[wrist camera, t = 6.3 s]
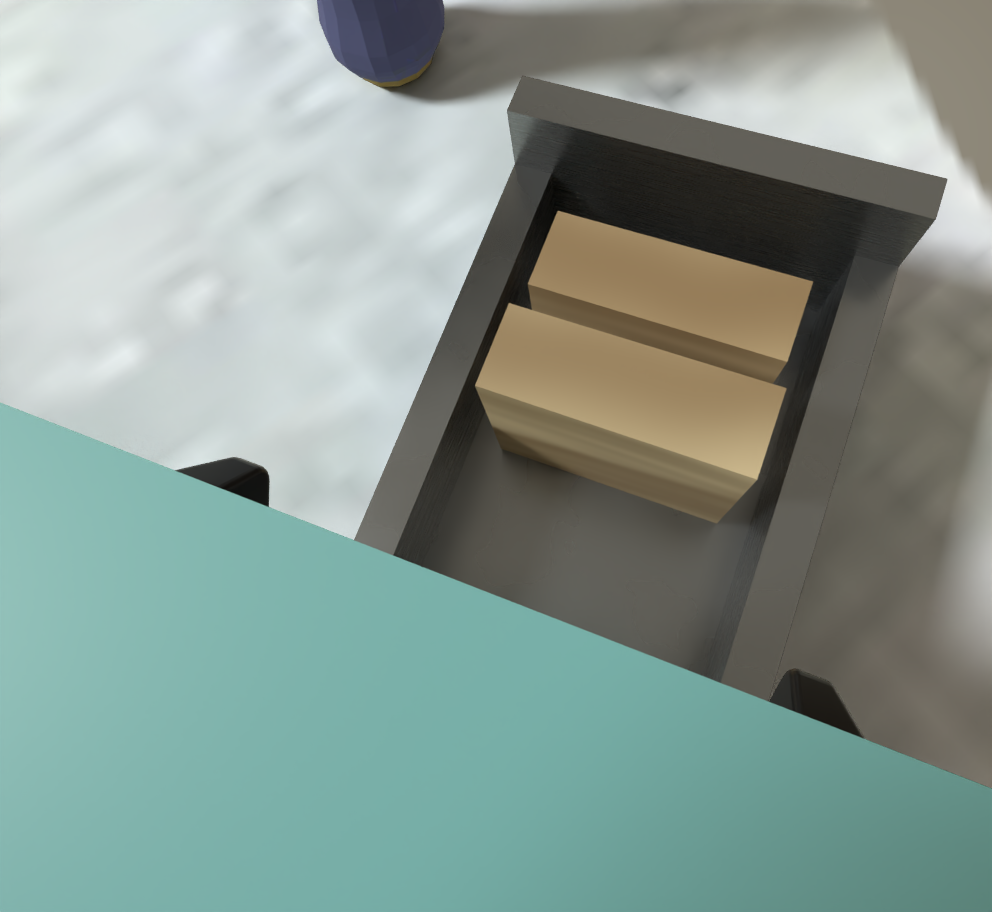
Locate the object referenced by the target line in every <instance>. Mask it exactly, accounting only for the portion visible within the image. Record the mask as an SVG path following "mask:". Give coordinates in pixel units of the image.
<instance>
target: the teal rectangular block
mask: <svg viewBox="0 0 992 912" xmlns="http://www.w3.org/2000/svg"><path fill="white" fill-rule="evenodd" d="M0 912H992V788H989V787H987V786H984V785H981V784H979V783H976V782H974V781H971V780H969V779H966V778H963V777H961V776H958V775H956V774H953V773H951V772H948V771H945V770H943V769H940V768H938V767H935V766H933V765H930V764H927V763H925V762H922V761H920V760H917V759H915V758H912V757H910V756H907V755H904V754H902V753H899V752H897V751H894V750H892V749H889V748H886V747H884V746H881V745H879V744H876V743H874V742H871V741H868V740H866V739H863V738H861V737H858V736H856V735H853V734H850V733H848V732H845V731H843V730H840V729H838V728H835V727H832V726H830V725H827V724H825V723H822V722H820V721H817V720H814V719H812V718H809V717H807V716H804V715H802V714H799V713H796V712H794V711H791V710H789V709H786V708H784V707H781V706H778V705H776V704H773V703H771V702H768V701H766V700H763V699H760V698H758V697H755V696H753V695H750V694H748V693H745V692H742V691H740V690H737V689H735V688H732V687H730V686H727V685H724V684H722V683H719V682H717V681H714V680H712V679H709V678H707V677H704V676H701V675H699V674H696V673H694V672H691V671H689V670H686V669H683V668H681V667H678V666H676V665H673V664H671V663H668V662H665V661H663V660H660V659H658V658H655V657H653V656H650V655H647V654H645V653H642V652H640V651H637V650H635V649H632V648H629V647H627V646H624V645H622V644H619V643H617V642H614V641H611V640H609V639H606V638H604V637H601V636H599V635H596V634H593V633H591V632H588V631H586V630H583V629H581V628H578V627H575V626H573V625H570V624H568V623H565V622H563V621H560V620H557V619H555V618H552V617H550V616H547V615H545V614H542V613H540V612H537V611H534V610H532V609H529V608H527V607H524V606H522V605H519V604H516V603H514V602H511V601H509V600H506V599H504V598H501V597H498V596H496V595H493V594H491V593H488V592H486V591H483V590H480V589H478V588H475V587H473V586H470V585H468V584H465V583H462V582H460V581H457V580H455V579H452V578H450V577H447V576H444V575H442V574H439V573H437V572H434V571H432V570H429V569H426V568H424V567H421V566H419V565H416V564H414V563H411V562H408V561H406V560H403V559H401V558H398V557H396V556H393V555H390V554H388V553H385V552H383V551H380V550H378V549H375V548H372V547H370V546H367V545H365V544H362V543H360V542H357V541H355V540H352V539H349V538H347V537H344V536H342V535H339V534H337V533H334V532H331V531H329V530H326V529H324V528H321V527H319V526H316V525H313V524H311V523H308V522H306V521H303V520H301V519H298V518H295V517H293V516H290V515H288V514H285V513H283V512H280V511H277V510H275V509H272V508H270V507H267V506H265V505H262V504H259V503H257V502H254V501H252V500H249V499H247V498H244V497H241V496H239V495H236V494H234V493H231V492H229V491H226V490H223V489H221V488H218V487H216V486H213V485H211V484H208V483H205V482H203V481H200V480H198V479H195V478H193V477H190V476H187V475H185V474H182V473H180V472H177V471H175V470H172V469H170V468H167V467H164V466H162V465H159V464H157V463H154V462H152V461H149V460H146V459H144V458H141V457H139V456H136V455H134V454H131V453H128V452H126V451H123V450H121V449H118V448H116V447H113V446H110V445H108V444H105V443H103V442H100V441H98V440H95V439H92V438H90V437H87V436H85V435H82V434H80V433H77V432H74V431H72V430H69V429H67V428H64V427H62V426H59V425H56V424H54V423H51V422H49V421H46V420H44V419H41V418H38V417H36V416H33V415H31V414H28V413H26V412H23V411H20V410H18V409H15V408H13V407H10V406H8V405H5V404H2V403H0Z"/></svg>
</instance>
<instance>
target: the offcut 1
mask: <svg viewBox="0 0 992 912" xmlns="http://www.w3.org/2000/svg"><path fill="white" fill-rule="evenodd" d="M812 284H813V281H809V280H806V279H802V278H798V277H795V276H791V275H788V274H784V273H780V272H777V271H773V270H770V269H766V268H762V267H759V266H755V265H752V264H748V263H744V262H741V261H737V260H734V259H730V258H726V257H723V256H719V255H716V254H712V253H708V252H705V251H701V250H698V249H694V248H690V247H687V246H683V245H680V244H676V243H672V242H669V241H665V240H662V239H658V238H654V237H651V236H647V235H644V234H640V233H636V232H633V231H629V230H625V229H622V228H618V227H615V226H611V225H607V224H604V223H600V222H597V221H593V220H589V219H586V218H582V217H579V216H575V215H571V214H568V213H564V212H561V211H557V214H556V216H555V219H554V221H553V224H552V226H551V229H550V231H549V233H548V236H547V238H546V241H545V243H544V246H543V248H542V251H541V253H540V255H539V258H538V260H537V263H536V265H535V268H534V270H533V273H532V275H531V277H530V280H529V282H528V288H529V294H530V300H531V306H532V310H533V311H537V312H540V313H543V314H546V315H550V316H553V317H556V318H559V319H563V320H566V321H569V322H572V323H576V324H579V325H582V326H585V327H589V328H592V329H595V330H598V331H602V332H605V333H608V334H612V335H615V336H618V337H621V338H625V339H628V340H631V341H634V342H638V343H641V344H644V345H647V346H651V347H654V348H657V349H660V350H664V351H667V352H670V353H673V354H677V355H680V356H683V357H686V358H690V359H693V360H696V361H699V362H703V363H706V364H709V365H713V366H716V367H719V368H722V369H726V370H729V371H732V372H735V373H739V374H742V375H745V376H748V377H752V378H755V379H758V380H761V381H765V382H768V383H771V384H773V383H774V381H775V380H776V378H777V377H778V375H779V374H780V372H781V371H782V369H783V368H784V366H785V365H786V363H787V361H788V358H789V355H790V352H791V349H792V346H793V343H794V340H795V337H796V334H797V330H798V327H799V324H800V321H801V318H802V315H803V312H804V309H805V306H806V303H807V300H808V296H809V293H810V290H811V287H812Z"/></svg>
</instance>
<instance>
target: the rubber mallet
mask: <svg viewBox="0 0 992 912" xmlns="http://www.w3.org/2000/svg"><path fill="white" fill-rule="evenodd" d="M317 4H318V12H319V21H320V24H321V26H322V29H323V31H324V34H325V37H326V39H327V41H328V43H329V45H330V48H331V50H332V52H333V54H334V56H335V58H336V59H337V61H339V62H340V63H341V64H342V65H344V66H345V67H346V68H347V69H349V70H350V71H352V72H353V73H355V74H356V75H358V76H359V77H361V78H363V79H364V80H366V81H368V82H370V83H373V84H375V85H377V86H379V87H388V86H401V85H403V84H405V83H408V82H410V81H412V80H414V79H417V78H418V77H419V76H420V75H421V74H422V73H423V72H424V71H425V70H426V68H427V67H428V66H429V65H430V64H431V62H432V58H433V54H434V52H435V50H436V48H437V46H438V43H439V41H440V38H441V35H442V32H443V30H444V5H443V1H442V0H317Z"/></svg>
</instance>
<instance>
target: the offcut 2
mask: <svg viewBox="0 0 992 912" xmlns="http://www.w3.org/2000/svg"><path fill="white" fill-rule="evenodd" d="M475 387H476V389H477V392H478V394H479V397H480V399H481V401H482V404H483V406H484V409H485V411H486V413H487V416H488V418H489V421H490V423H491V425H492V428H493V430H494V433H495V435H496V437H497V440H498V442H499V445H500V447H501V449H504V450H507V451H510V452H512V453H515V454H518V455H521V456H524V457H527V458H530V459H533V460H535V461H538V462H541V463H544V464H547V465H550V466H553V467H556V468H558V469H561V470H564V471H567V472H570V473H573V474H576V475H579V476H581V477H584V478H587V479H590V480H593V481H596V482H599V483H602V484H604V485H607V486H610V487H613V488H616V489H619V490H622V491H624V492H627V493H630V494H633V495H636V496H639V497H642V498H645V499H647V500H650V501H653V502H656V503H659V504H662V505H665V506H668V507H670V508H673V509H676V510H679V511H682V512H685V513H688V514H691V515H693V516H696V517H699V518H702V519H705V520H708V521H711V522H714V523H716V524H717V523H718V522H719V521H720V520H721V518H722V517H723V516H724V515H725V514H726V513H727V512H728V511H729V510H730V509H731V508H732V507H733V505H734V504H735V503H736V502H737V501H738V500H739V499H740V498H741V497H742V496H743V495H744V493H745V492H746V491H747V490H748V489H749V488H750V487H751V486H752V485H753V484H754V483H755V482H756V480H757V479H758V476H759V473H760V470H761V466H762V463H763V460H764V457H765V454H766V451H767V448H768V445H769V442H770V438H771V435H772V432H773V429H774V426H775V423H776V420H777V417H778V414H779V410H780V407H781V404H782V401H783V398H784V395H785V392H786V389H787V388H784V387H781V386H778V385H774V384H771V383H768V382H765V381H761V380H758V379H755V378H752V377H748V376H745V375H742V374H739V373H735V372H732V371H729V370H726V369H722V368H719V367H716V366H713V365H709V364H706V363H703V362H699V361H696V360H693V359H690V358H686V357H683V356H680V355H677V354H673V353H670V352H667V351H664V350H660V349H657V348H654V347H651V346H647V345H644V344H641V343H638V342H634V341H631V340H628V339H625V338H621V337H618V336H615V335H612V334H608V333H605V332H602V331H598V330H595V329H592V328H589V327H585V326H582V325H579V324H576V323H572V322H569V321H566V320H563V319H559V318H556V317H553V316H550V315H546V314H543V313H540V312H537V311H533V310H530V309H527V308H524V307H520V306H517V305H514V304H511V303H509V304H508V307H507V309H506V312H505V314H504V316H503V319H502V321H501V324H500V326H499V329H498V331H497V333H496V336H495V338H494V341H493V343H492V346H491V348H490V350H489V353H488V355H487V358H486V360H485V363H484V365H483V367H482V370H481V372H480V375H479V377H478V380H477V382H476V384H475Z"/></svg>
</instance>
